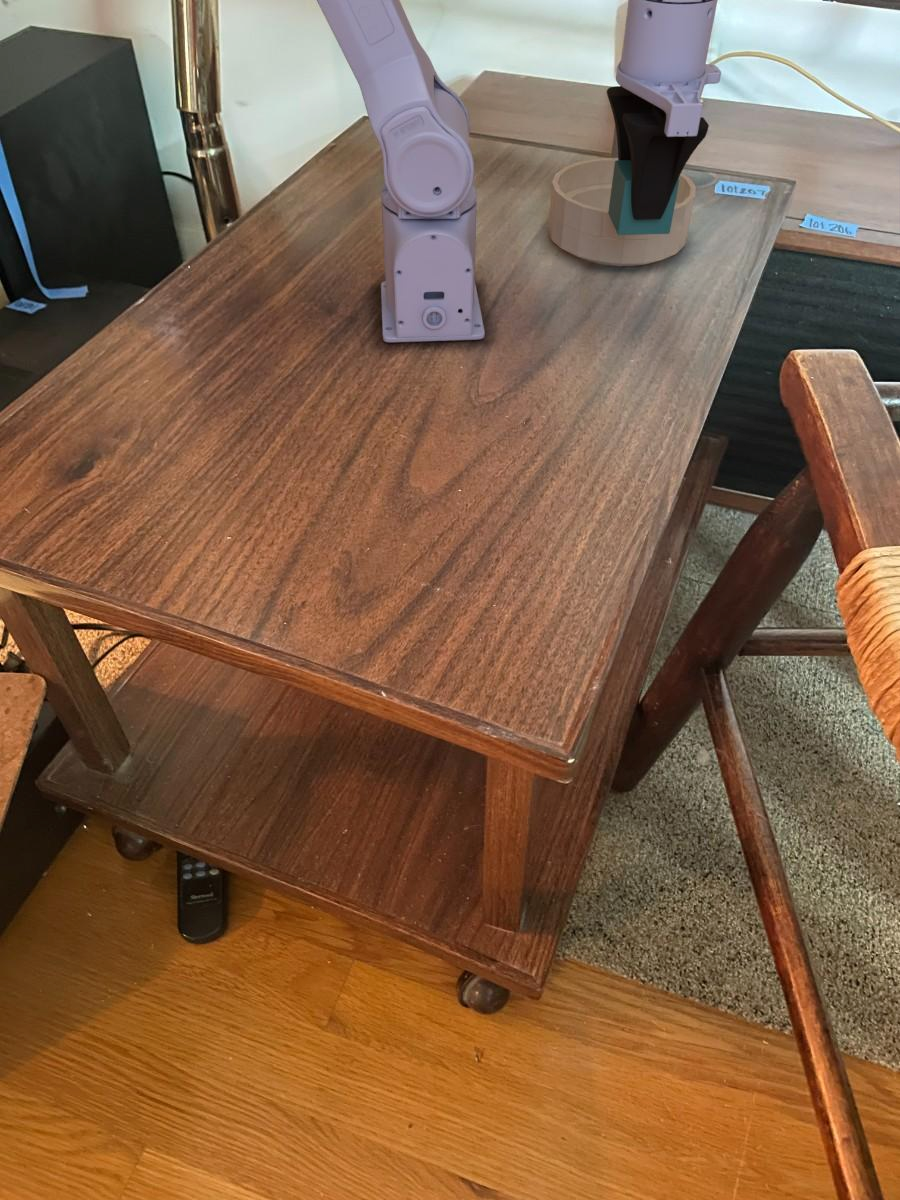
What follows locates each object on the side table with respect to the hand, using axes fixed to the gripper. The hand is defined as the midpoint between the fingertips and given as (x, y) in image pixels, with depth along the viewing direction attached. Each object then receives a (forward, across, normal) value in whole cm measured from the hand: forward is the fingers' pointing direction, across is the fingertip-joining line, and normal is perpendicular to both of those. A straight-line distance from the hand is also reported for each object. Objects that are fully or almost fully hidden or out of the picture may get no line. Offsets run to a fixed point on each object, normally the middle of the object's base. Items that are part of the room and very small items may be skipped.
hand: (640, 205), depth 67 cm
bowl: (+8, +13, -2) cm, 15 cm away
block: (+1, 0, 0) cm, 1 cm away
